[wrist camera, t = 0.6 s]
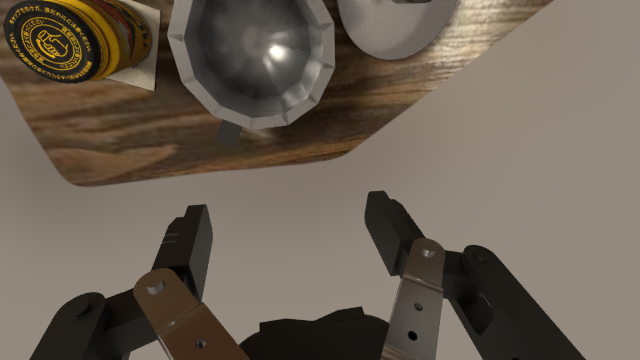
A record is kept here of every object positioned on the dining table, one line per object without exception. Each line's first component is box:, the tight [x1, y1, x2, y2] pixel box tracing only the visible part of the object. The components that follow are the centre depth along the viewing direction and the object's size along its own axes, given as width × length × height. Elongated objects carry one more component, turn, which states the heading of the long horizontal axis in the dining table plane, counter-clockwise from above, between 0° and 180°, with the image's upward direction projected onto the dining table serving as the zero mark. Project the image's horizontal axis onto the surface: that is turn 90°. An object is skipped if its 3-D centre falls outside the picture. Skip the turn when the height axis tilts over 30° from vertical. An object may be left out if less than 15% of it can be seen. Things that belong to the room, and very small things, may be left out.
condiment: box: [3, 0, 160, 91], centre depth 24 cm, size 7×8×12 cm
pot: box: [167, 0, 335, 147], centre depth 28 cm, size 20×14×8 cm
